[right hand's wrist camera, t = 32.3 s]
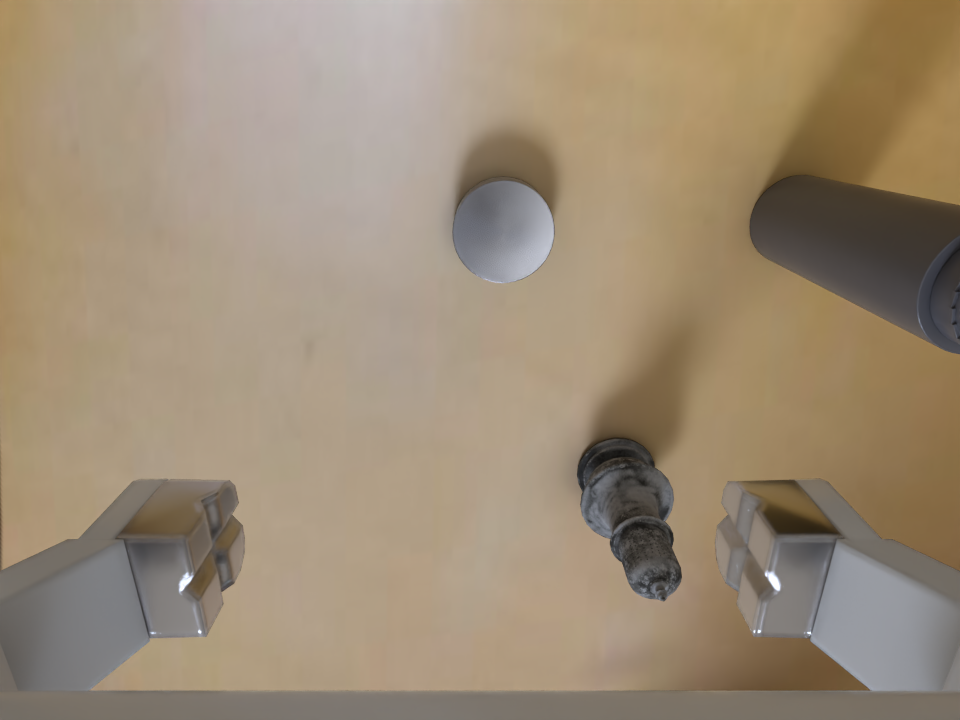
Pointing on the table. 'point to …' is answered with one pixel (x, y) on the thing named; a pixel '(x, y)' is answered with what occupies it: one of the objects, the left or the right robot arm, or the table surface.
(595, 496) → the dark grey chess piece
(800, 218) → the grey tall cylinder
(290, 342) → the table surface
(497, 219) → the lid
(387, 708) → the right robot arm
